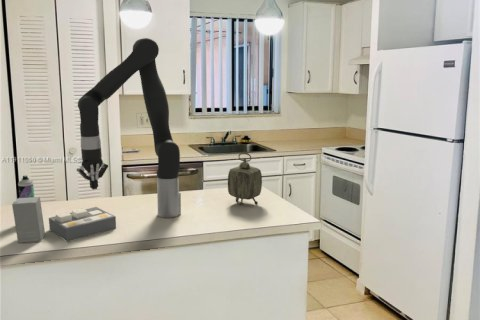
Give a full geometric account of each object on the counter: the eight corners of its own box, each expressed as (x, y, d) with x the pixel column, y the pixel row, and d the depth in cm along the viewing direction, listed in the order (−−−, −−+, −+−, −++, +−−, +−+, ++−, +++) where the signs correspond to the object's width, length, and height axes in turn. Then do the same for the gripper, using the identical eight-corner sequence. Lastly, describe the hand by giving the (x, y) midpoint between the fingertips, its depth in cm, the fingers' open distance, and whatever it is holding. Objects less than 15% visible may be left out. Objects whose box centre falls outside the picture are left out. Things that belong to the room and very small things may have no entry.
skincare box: (45, 235, 168) (42, 195, 164) (40, 243, 161) (36, 201, 157) (21, 236, 166) (18, 196, 163) (15, 244, 160) (11, 202, 156)
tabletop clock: (261, 204, 209) (262, 153, 203) (251, 209, 201) (252, 156, 196) (235, 199, 216) (236, 149, 211) (225, 203, 209) (226, 152, 204)
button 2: (98, 216, 183) (97, 209, 183) (103, 219, 180) (102, 212, 180) (88, 219, 180) (87, 212, 180) (93, 221, 177) (92, 214, 176)
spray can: (25, 220, 183) (20, 174, 178) (38, 220, 183) (34, 174, 179) (19, 225, 177) (15, 177, 173) (33, 225, 178) (29, 177, 173)
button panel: (96, 217, 187) (96, 206, 186) (116, 228, 176) (115, 215, 175) (49, 229, 173) (48, 217, 172) (67, 241, 162) (66, 228, 161)
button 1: (67, 219, 174) (66, 211, 173) (72, 222, 171) (71, 214, 170) (56, 221, 171) (55, 214, 170) (61, 224, 168) (60, 217, 167)
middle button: (82, 215, 178) (82, 208, 178) (88, 218, 175) (87, 211, 175) (72, 217, 175) (71, 210, 175) (77, 220, 172) (76, 213, 172)
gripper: (79, 150, 166) (83, 194, 170) (111, 145, 175) (113, 187, 179) (70, 147, 171) (74, 190, 175) (101, 143, 181) (104, 183, 185)
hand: (94, 188), depth 177 cm, fingers closed
